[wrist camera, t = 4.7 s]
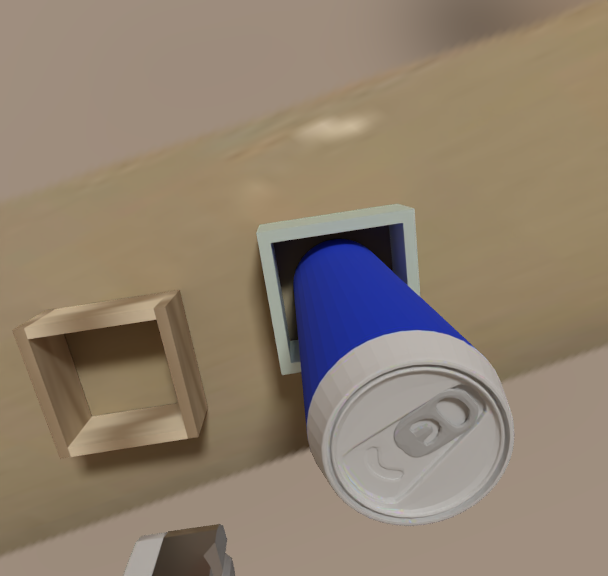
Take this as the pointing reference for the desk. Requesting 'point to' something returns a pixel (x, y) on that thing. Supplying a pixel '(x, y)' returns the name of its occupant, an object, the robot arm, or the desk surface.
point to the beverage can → (394, 393)
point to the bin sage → (392, 215)
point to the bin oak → (68, 391)
